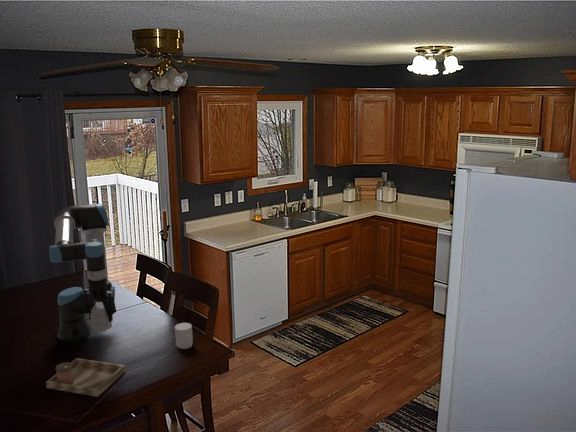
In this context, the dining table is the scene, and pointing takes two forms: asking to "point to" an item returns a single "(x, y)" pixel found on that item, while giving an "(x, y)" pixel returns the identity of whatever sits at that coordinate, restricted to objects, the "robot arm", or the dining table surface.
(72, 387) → the tray
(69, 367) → the jar
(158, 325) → the dining table surface
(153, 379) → the dining table surface
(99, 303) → the small box
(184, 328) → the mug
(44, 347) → the dining table surface
